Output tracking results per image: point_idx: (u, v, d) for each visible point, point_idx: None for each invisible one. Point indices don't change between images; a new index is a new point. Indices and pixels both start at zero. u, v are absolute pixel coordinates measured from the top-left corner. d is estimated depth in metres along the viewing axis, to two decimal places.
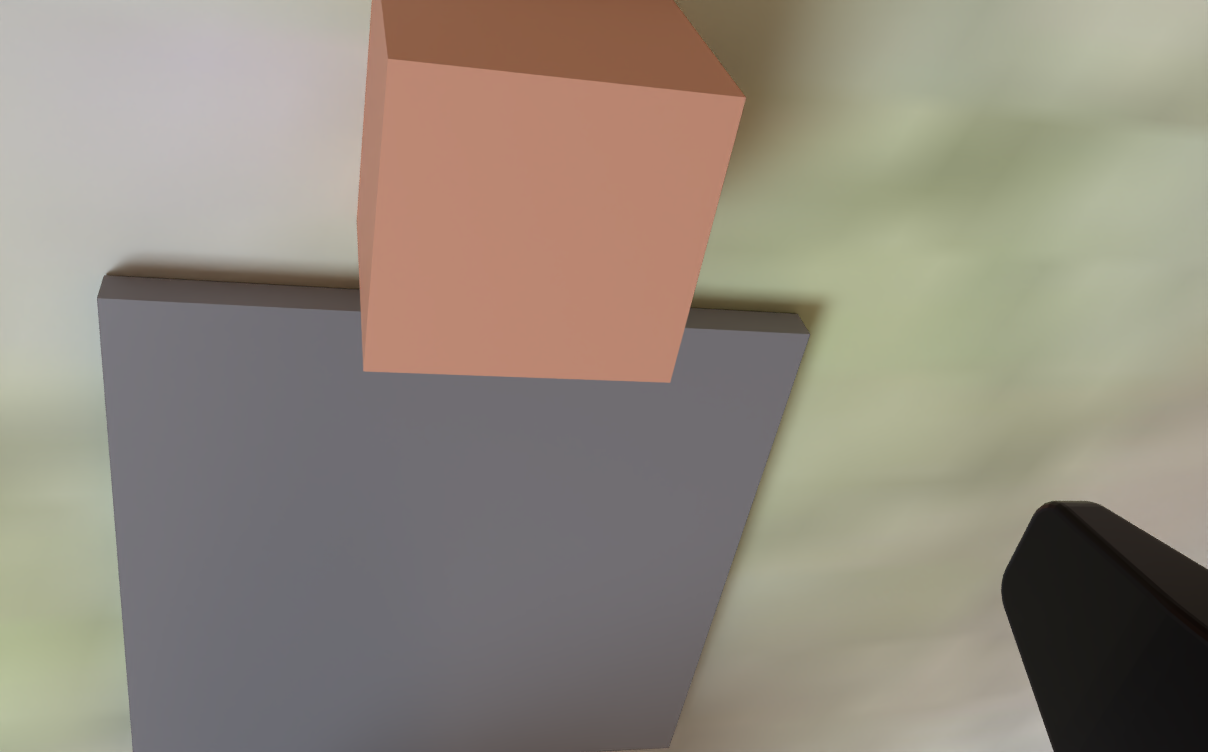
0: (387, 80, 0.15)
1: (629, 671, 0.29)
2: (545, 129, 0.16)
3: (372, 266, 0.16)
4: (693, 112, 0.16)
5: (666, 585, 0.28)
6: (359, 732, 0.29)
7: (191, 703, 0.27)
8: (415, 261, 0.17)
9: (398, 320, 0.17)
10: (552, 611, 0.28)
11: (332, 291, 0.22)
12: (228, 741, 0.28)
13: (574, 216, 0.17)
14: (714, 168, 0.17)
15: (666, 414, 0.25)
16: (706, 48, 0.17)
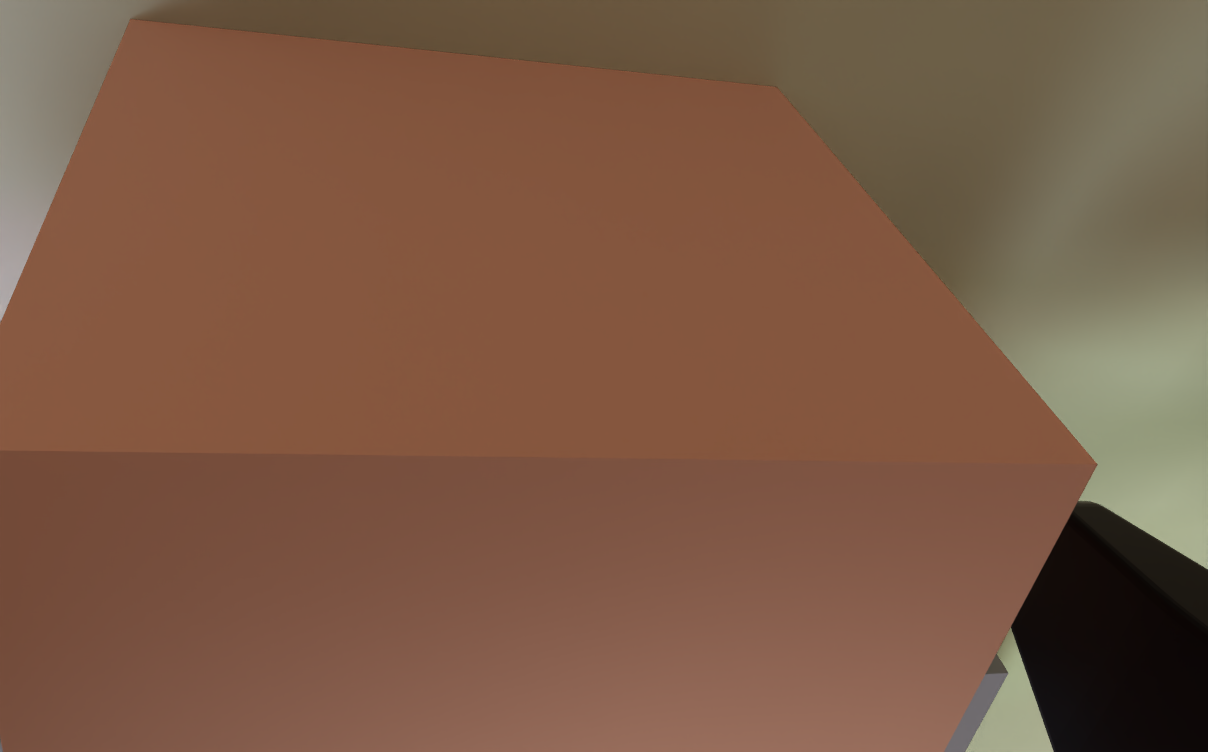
0: None
1: None
2: (512, 585, 0.05)
3: None
4: (945, 510, 0.05)
5: None
6: None
7: None
8: None
9: None
10: None
11: None
12: None
13: None
14: (979, 624, 0.06)
15: None
16: (921, 265, 0.07)
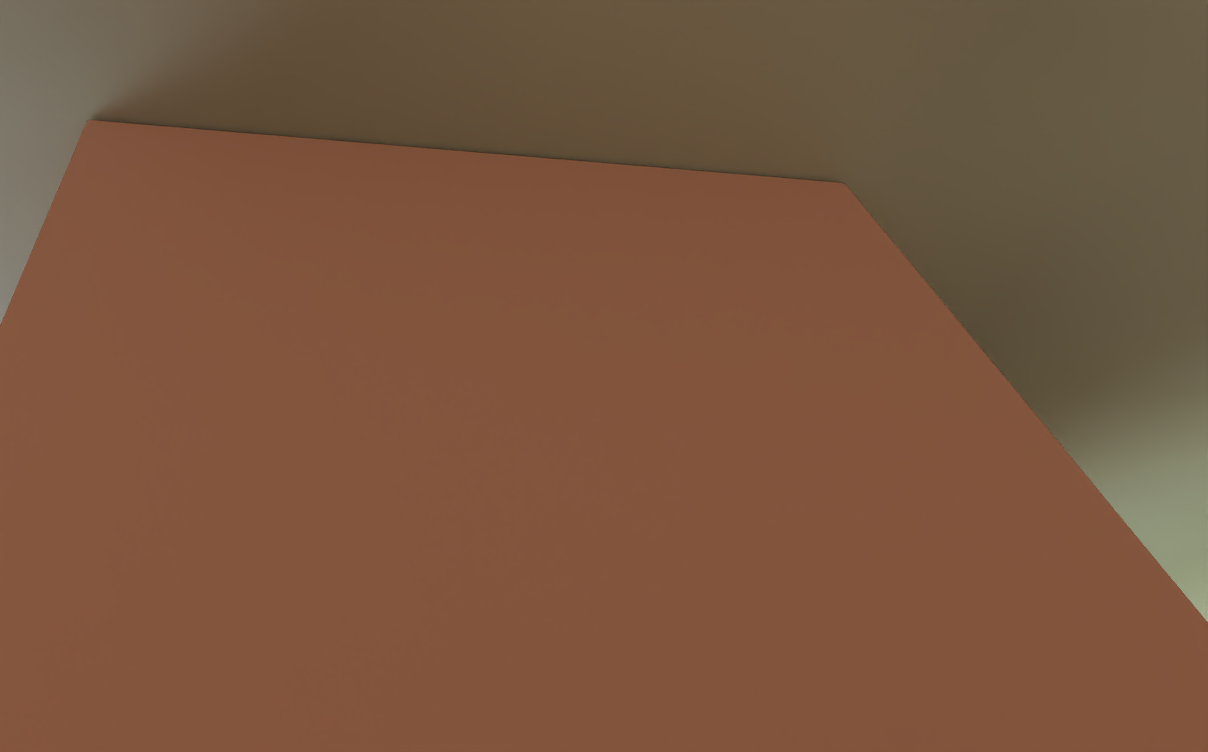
0: None
1: None
2: None
3: None
4: None
5: None
6: None
7: None
8: None
9: None
10: None
11: None
12: None
13: None
14: None
15: None
16: (1058, 452, 0.06)
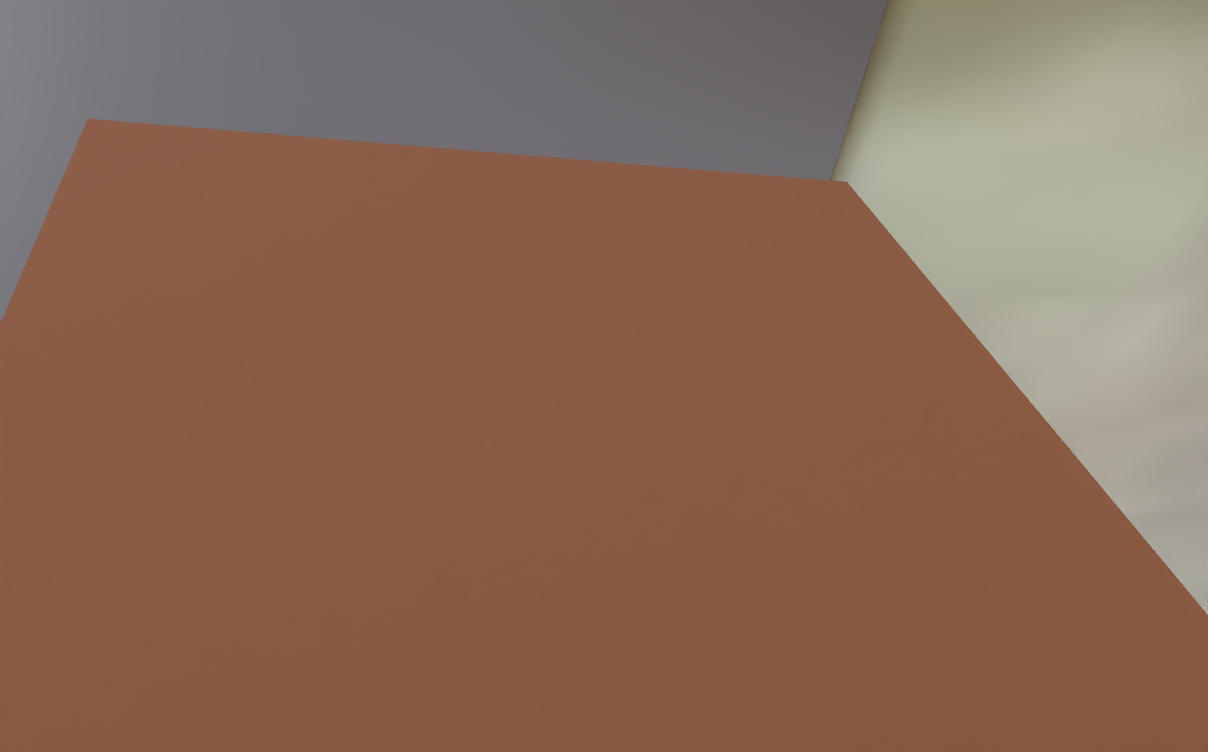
0: None
1: None
2: None
3: None
4: None
5: (758, 121, 0.18)
6: None
7: (4, 289, 0.17)
8: None
9: None
10: (578, 156, 0.17)
11: None
12: None
13: None
14: None
15: None
16: (1062, 452, 0.06)
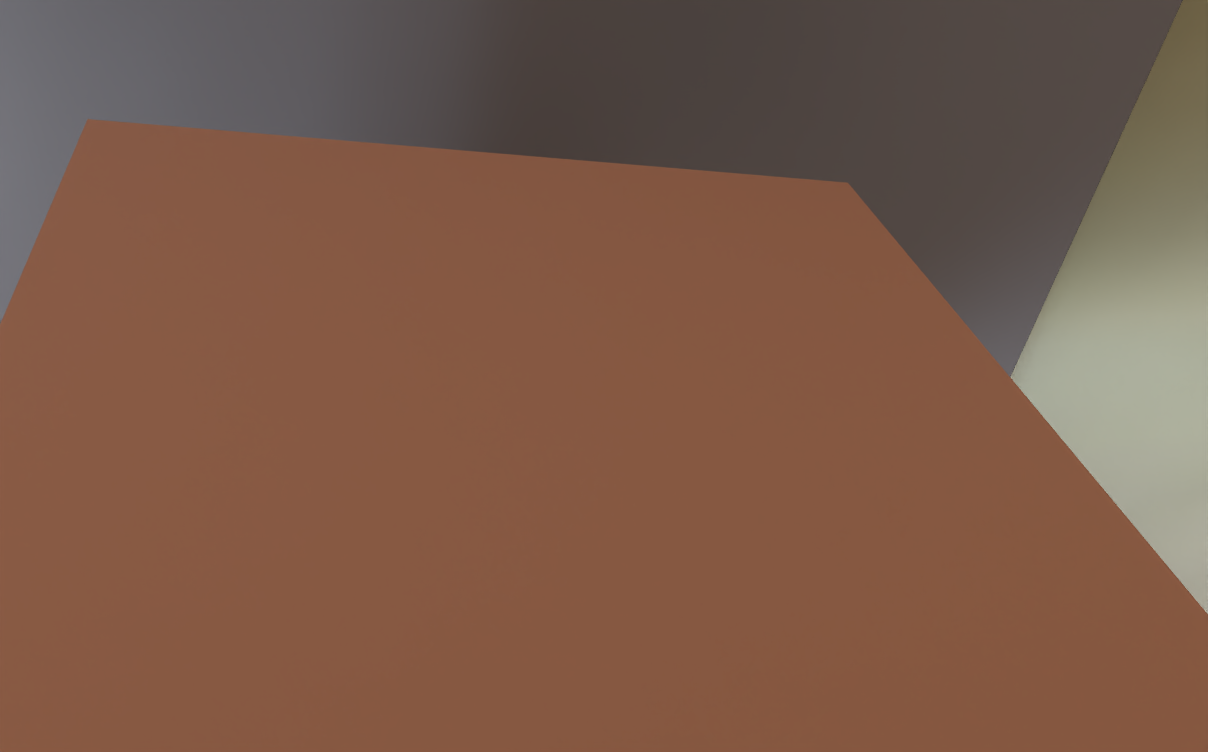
0: None
1: None
2: None
3: None
4: None
5: None
6: None
7: None
8: None
9: None
10: None
11: None
12: None
13: None
14: None
15: None
16: (1065, 453, 0.06)
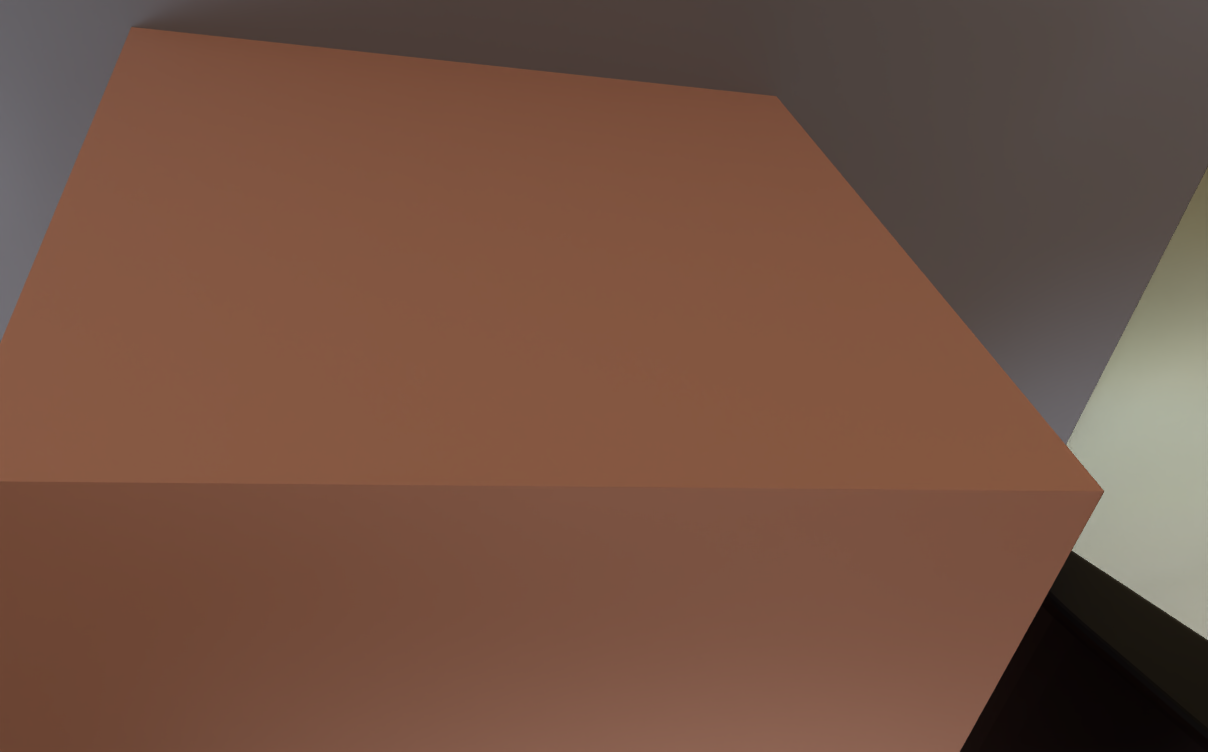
0: None
1: None
2: (513, 614, 0.05)
3: None
4: (952, 536, 0.05)
5: None
6: None
7: None
8: None
9: None
10: None
11: None
12: None
13: None
14: (983, 649, 0.06)
15: None
16: (925, 284, 0.07)
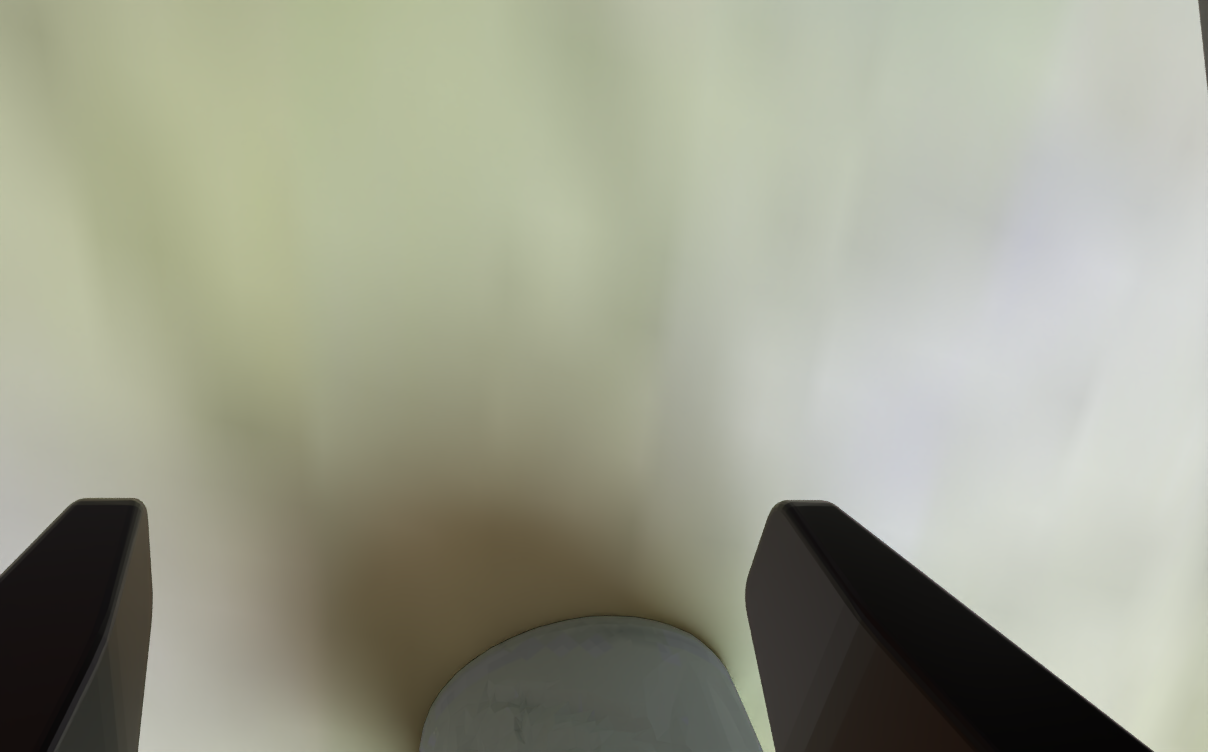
0: None
1: None
2: None
3: None
4: None
5: None
6: None
7: None
8: None
9: None
10: None
11: None
12: None
13: None
14: None
15: None
16: None
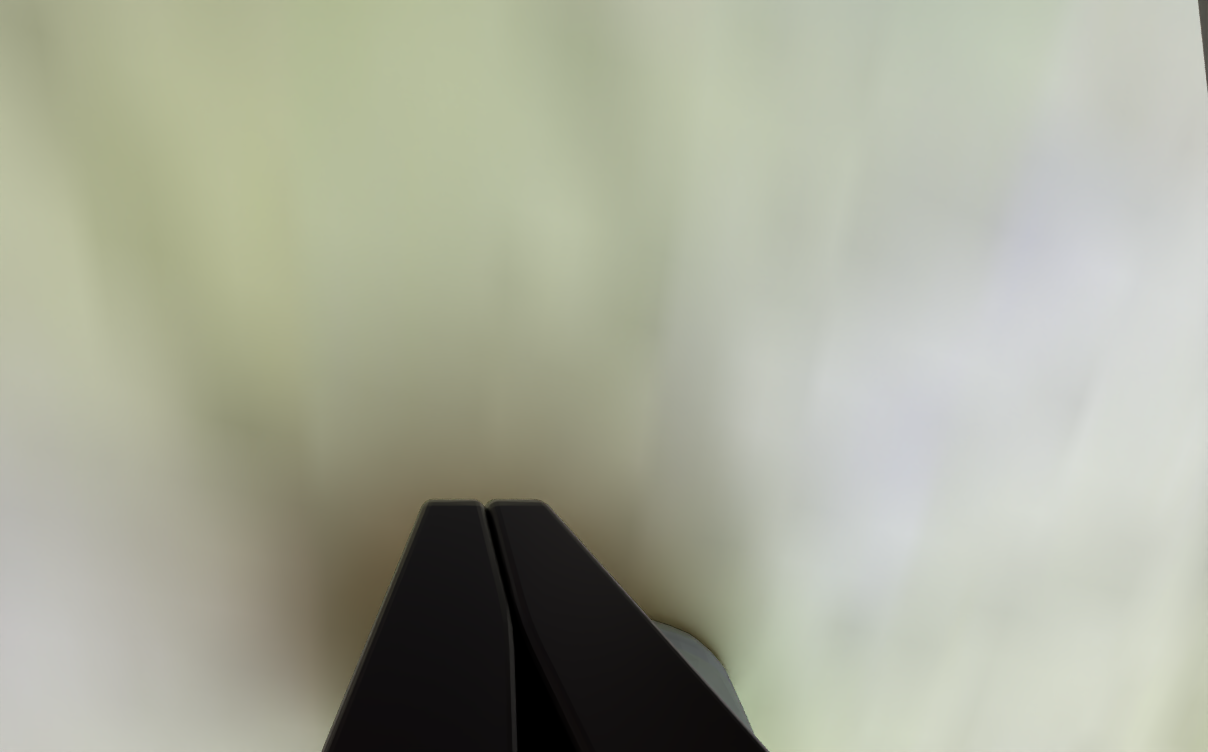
0: None
1: None
2: None
3: None
4: None
5: None
6: None
7: None
8: None
9: None
10: None
11: None
12: None
13: None
14: None
15: None
16: None
